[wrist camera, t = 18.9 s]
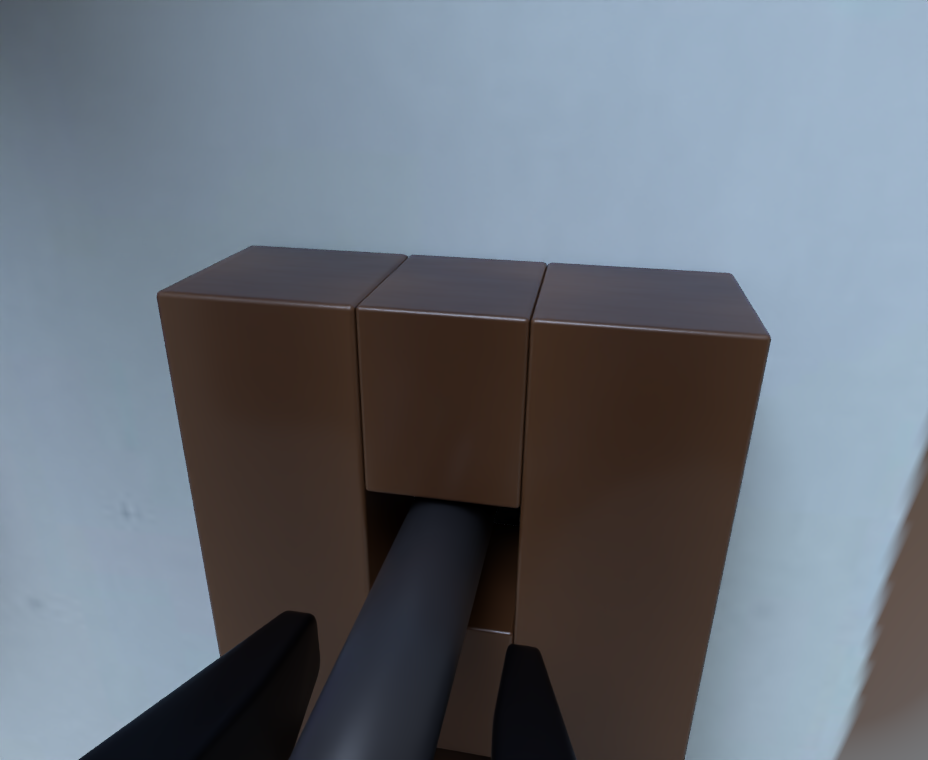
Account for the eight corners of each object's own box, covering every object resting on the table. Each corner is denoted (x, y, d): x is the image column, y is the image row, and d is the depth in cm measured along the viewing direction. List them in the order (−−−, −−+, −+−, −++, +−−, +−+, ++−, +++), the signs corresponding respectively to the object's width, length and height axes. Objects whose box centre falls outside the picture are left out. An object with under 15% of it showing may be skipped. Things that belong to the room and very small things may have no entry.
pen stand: (309, 764, 18) (259, 884, 16) (249, 244, 13) (153, 291, 10) (636, 825, 17) (642, 968, 14) (733, 272, 11) (773, 336, 9)
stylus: (474, 504, 14) (236, 1253, 5) (423, 457, 14) (73, 1140, 5) (523, 461, 13) (364, 1212, 4) (471, 413, 13) (182, 1081, 4)
